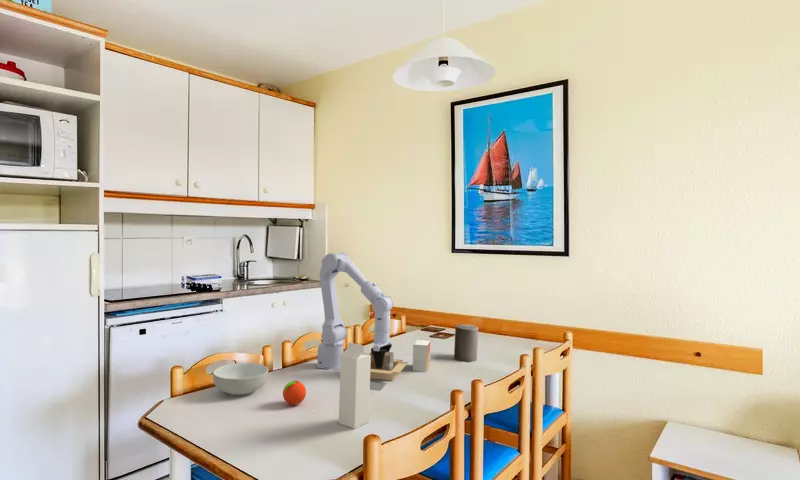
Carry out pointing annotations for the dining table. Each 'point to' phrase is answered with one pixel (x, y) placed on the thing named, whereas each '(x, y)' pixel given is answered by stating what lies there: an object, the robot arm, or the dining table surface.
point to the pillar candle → (466, 343)
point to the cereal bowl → (240, 378)
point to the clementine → (294, 392)
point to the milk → (354, 386)
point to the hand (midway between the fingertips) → (381, 365)
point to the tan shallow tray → (388, 375)
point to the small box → (421, 355)
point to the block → (386, 362)
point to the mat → (376, 385)
